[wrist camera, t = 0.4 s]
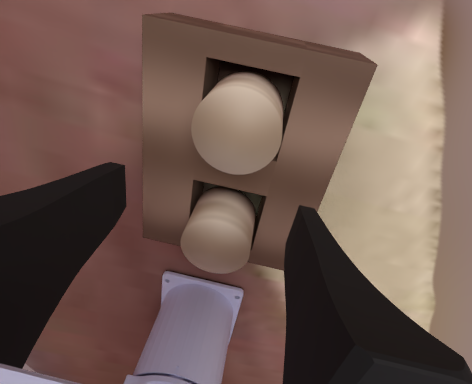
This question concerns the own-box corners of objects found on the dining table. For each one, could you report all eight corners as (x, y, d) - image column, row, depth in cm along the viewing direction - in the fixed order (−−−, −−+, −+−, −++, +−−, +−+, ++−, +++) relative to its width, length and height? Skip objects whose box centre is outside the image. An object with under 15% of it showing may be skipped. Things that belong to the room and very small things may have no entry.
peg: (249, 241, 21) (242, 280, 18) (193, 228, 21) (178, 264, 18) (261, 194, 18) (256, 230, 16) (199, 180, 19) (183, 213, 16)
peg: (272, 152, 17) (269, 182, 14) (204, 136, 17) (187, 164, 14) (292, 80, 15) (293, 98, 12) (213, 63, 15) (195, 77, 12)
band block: (291, 235, 24) (292, 272, 21) (162, 205, 25) (142, 237, 21) (359, 52, 17) (377, 64, 13) (170, 12, 17) (142, 14, 14)
